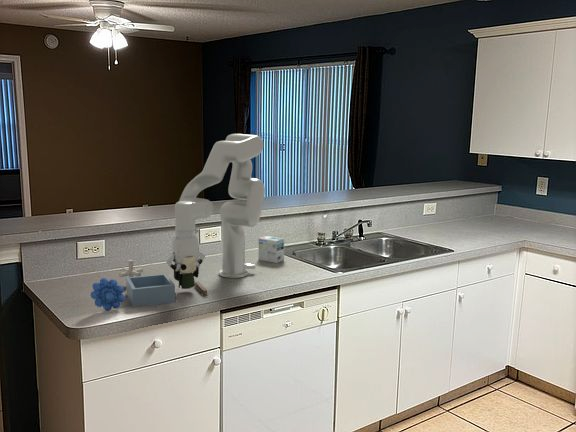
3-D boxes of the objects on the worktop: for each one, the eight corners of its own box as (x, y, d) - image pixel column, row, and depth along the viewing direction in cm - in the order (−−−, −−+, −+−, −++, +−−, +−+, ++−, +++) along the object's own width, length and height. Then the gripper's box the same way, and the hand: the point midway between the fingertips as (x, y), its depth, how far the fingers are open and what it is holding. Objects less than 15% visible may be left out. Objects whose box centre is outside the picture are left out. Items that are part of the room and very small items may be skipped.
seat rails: (199, 286, 231) (198, 281, 231) (207, 295, 221) (207, 290, 220) (165, 289, 226) (165, 284, 226) (171, 299, 215) (171, 294, 215)
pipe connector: (134, 279, 238) (133, 255, 236) (149, 284, 232) (148, 260, 230) (113, 284, 231) (112, 260, 229) (128, 290, 225) (127, 265, 223)
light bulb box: (284, 260, 273) (284, 238, 271) (276, 263, 267) (277, 240, 265) (265, 256, 278) (266, 235, 276) (257, 259, 272) (258, 237, 270)
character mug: (170, 286, 224) (169, 254, 222) (184, 282, 230) (183, 251, 227) (189, 293, 217) (188, 260, 215) (203, 288, 223) (202, 256, 220)
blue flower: (93, 317, 196) (92, 283, 194) (89, 310, 202) (88, 277, 199) (128, 311, 201) (127, 278, 199) (123, 305, 207) (122, 273, 205)
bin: (166, 289, 226) (166, 273, 225) (175, 302, 212) (174, 285, 211) (126, 294, 220) (126, 277, 219) (132, 307, 206) (132, 289, 205)
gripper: (201, 228, 227) (201, 272, 231) (160, 234, 217) (161, 279, 220) (210, 232, 221) (211, 276, 225) (168, 238, 211) (170, 285, 215)
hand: (186, 278), depth 223 cm, fingers closed on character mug, 7 cm apart
